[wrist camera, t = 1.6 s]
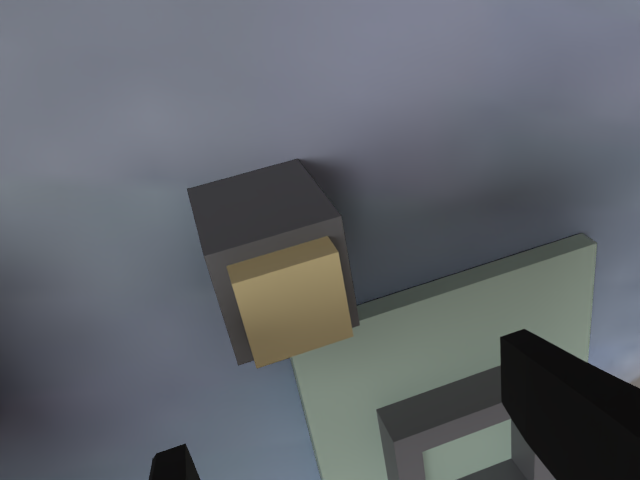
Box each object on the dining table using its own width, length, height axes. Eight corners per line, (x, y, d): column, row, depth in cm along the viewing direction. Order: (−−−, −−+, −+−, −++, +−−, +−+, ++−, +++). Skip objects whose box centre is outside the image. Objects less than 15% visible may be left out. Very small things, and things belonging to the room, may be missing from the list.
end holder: (346, 579, 33) (365, 633, 31) (282, 329, 24) (301, 376, 22) (565, 490, 36) (600, 534, 33) (581, 233, 27) (630, 265, 24)
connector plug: (216, 283, 23) (244, 386, 17) (186, 188, 21) (208, 274, 15) (316, 252, 23) (371, 344, 18) (297, 158, 21) (353, 231, 16)
